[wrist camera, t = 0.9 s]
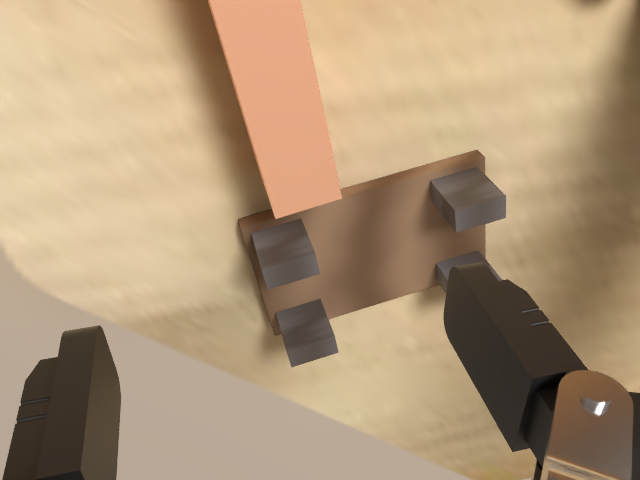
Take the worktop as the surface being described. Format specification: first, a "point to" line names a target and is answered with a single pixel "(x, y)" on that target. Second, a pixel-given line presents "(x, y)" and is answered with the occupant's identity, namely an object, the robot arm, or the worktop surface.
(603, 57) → the worktop surface
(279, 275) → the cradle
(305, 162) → the terracotta clay brick
